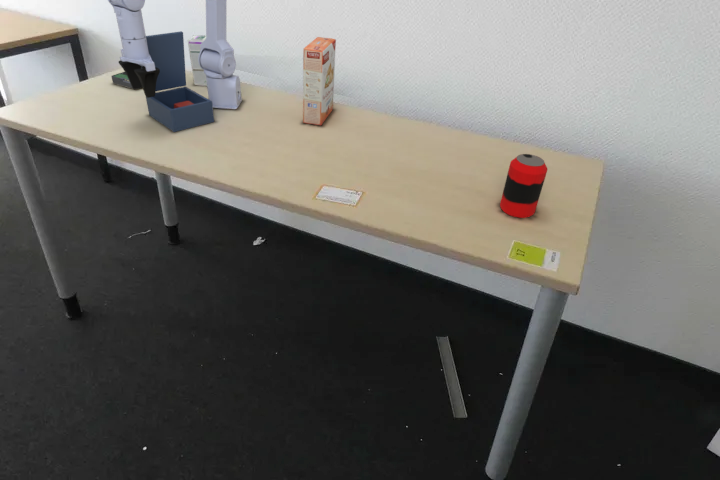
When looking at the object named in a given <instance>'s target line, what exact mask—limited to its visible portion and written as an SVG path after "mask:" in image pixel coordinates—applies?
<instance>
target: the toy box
mask: <svg viewBox="0 0 720 480" xmlns="http://www.w3.org/2000/svg"><path fill="white" fill-rule="evenodd" d="M145 101H146V106H147V111H148V116H149V117H151V118H153V119H154V120H155V121H157V122H158V123H159V124H161V125H163V126H164V127H166V128H167V129H169V130H170V131H171V132H173V133H177V132H180V131H184V130H189V129H192V128H195V127H199V126H204V125H208V124H211V123H214V122H215V117H214V108H213V106H212V101H211V100H209V98H207V97H206V96H203V95H201V94H200V93H198V92H196V91H195V90H193V89H191V88H189V87H188V86H181V87H176V88H171V89H166V90H161V91H156V92H155V96H154V97H149V98H147V97H146V96H145ZM184 101H190V102H192V103H193V104H192V105H188V106H183V107H179V108H175V109H174V104H175V103H180V102H184Z"/></svg>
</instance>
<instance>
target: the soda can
mask: <svg viewBox="0 0 720 480" xmlns="http://www.w3.org/2000/svg"><path fill="white" fill-rule="evenodd" d="M547 173H548V167H547V165H546V162H545V160H544V159H543V158H542V157H540V156H538V155H534V154H530V153H521V154H518V155H517V156H516V157H514V158H513V159H512V160H511V161H510V162H509V166H508V171H507V175H506V179H505V183H504V187H503V190H502V195H501V199H500V203H499V207H500V209H501V210H502V211H503V212H504V213H505V214H506V215H508V216H511V217H514V218H519V219H527V218H530V217H532V216H533V215H535V213H536V210H537V206H538V204H539V200H540V196H541V193H542V190H543V187H544V184H545V183H544V182H545V180H546V176H547Z"/></svg>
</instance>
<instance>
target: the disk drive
mask: <svg viewBox="0 0 720 480" xmlns="http://www.w3.org/2000/svg"><path fill="white" fill-rule="evenodd" d="M141 69H142V68H141ZM111 81H112V84H115V85H117V86H122V87H125V88H129V89H132V90H134V89H133V88H132V86H131V84H130V81H129V79H128V77H127V75H126V73H125V71H122V72H119V73H116V74H113V75H111ZM139 89H140V88H138V89H137V90H139Z"/></svg>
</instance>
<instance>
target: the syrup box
mask: <svg viewBox="0 0 720 480" xmlns="http://www.w3.org/2000/svg"><path fill="white" fill-rule="evenodd" d="M205 39H206V35H203V34H202V35H201V34H198V35H192V36H191V37H190V38H189V39H187V45H188V46H187V47H188V54H189V59H190V65H191V73H192V78H193V79H192V80H193V84H194V86H201V87H207V81H206V74H205V73H204V70H203V69H202V68H201V67H200V65H199V63H198V56H199V53H200V49H201V43H202V42H203V41H204V40H205Z"/></svg>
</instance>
